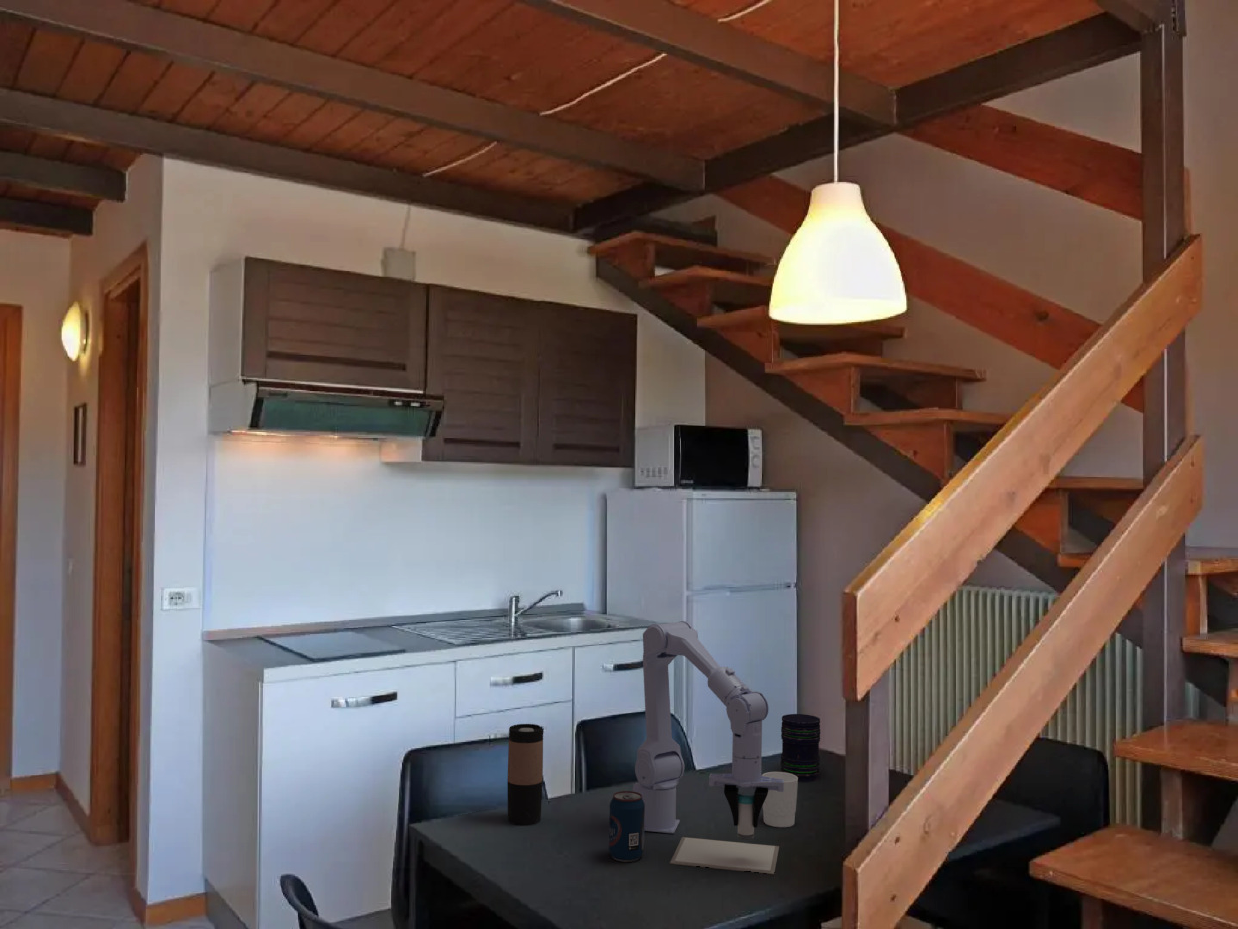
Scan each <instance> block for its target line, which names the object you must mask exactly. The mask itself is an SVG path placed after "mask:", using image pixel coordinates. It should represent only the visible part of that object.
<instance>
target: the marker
mask: <svg viewBox="0 0 1238 929" xmlns="http://www.w3.org/2000/svg"><path fill="white" fill-rule="evenodd" d="M753 821H754V793H750V792H741V793H740V792H739V793H738V825H737V838H739V839H741V840H752V839H754V838H755V827H753Z"/></svg>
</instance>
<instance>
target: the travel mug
mask: <svg viewBox="0 0 1238 929" xmlns="http://www.w3.org/2000/svg"><path fill="white" fill-rule="evenodd" d="M507 751H508V752H507V753H508V754H507V755H508V756H507V779H506V780H507V783H506V784H507V821H508V822H509V824H512V825H515V826H533V825H536V824H538V823H540V821H541V817H542V816H541V815H542V802H543V799H542V798H543V782H544V781H543V777H544V776H543V774H544V769H543V768H544V728H542V727H541V725H539V724H535V723H534V724H533V723H518V724H513V725H510V726H509V728H508V750H507Z"/></svg>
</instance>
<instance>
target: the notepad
mask: <svg viewBox="0 0 1238 929" xmlns="http://www.w3.org/2000/svg"><path fill="white" fill-rule="evenodd" d="M779 851H780V846H779V845H772V844H771V845H770V844H761V843H749V842H740V841H739V842H738V841H729V840H716V839H709V838H708V839H706V838H698V837H697V838H696V837H686V836H682V837H681V838H680V841H679V843H678V845H677V847H676V850H675V851H674V854H673V855H672V858H671V860H670V862H669V864H670V865H678V866H679V865H680V866H688V867H696V866H700V868H705V867H709V868H708V869H715V870H717V869H718V870H725V871H726V870H727V871H735V872H744V871H751V872H750V873H754V872H759V873H758V874H763V873H767V874H766V875H775V873H774V872H776V867H777V861H778V856H779Z"/></svg>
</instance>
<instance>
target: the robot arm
mask: <svg viewBox="0 0 1238 929" xmlns="http://www.w3.org/2000/svg"><path fill="white" fill-rule="evenodd" d="M642 647H643V648H642V649H643V655H642V668H643V669H642V670H643V672H642V673H643V690H644V691H643V693H644V710H645V712H644V713H645V733H646V734H645V735H646V738H645V741H644V742H643V743H642V744H641V745H640V746H639V748H638V749H637V751H636V755H637V756H636V757H637V758H636V762H635V764H634V772H635V773H634V774H635V776H636V779H637V781H638V782H635V783H633V787H632V791H633V792H637V793H640V794H641V795H642V799H643V801H644V804H645V822H644V832H655V833H656V832H657V833H664V834H675V832H676V830H677V828H678V826H679V824H680V821H681V820H680V819H676V818H677V817H676V815H677V814H676V812H677V811H676V810H677V808H676V807H677V785H678V784H680V781H679V780H680V779H681V778H682V777H683V775H684V773H685V762H684V759H683V756H682V753H681V752H682V751H681V745H680V744H678V743H677V741H675V740H674V739H673V738H672V737H673V736H672V734H673V733H672V716H671V715H672V714H671V699H670V697H671V696H670V678H669V676H670V674H669V666H670V664H671V663H672V662H673V660H675V659H676V658H677V656H684V657H685V658H686V659H687V660H688V661H689V662H690V663H691V664H693V666H694V667H695V668H697V669H698V670H699V671H700V672H701V673H702V674H703V675H704V676H705V677H706V678H707V687H708V688H709V689H710V691H712V693H713V695H715V696H716V697H717V698H718V699H719V701H720V702H721V703H722V704H723V705H724V706H725V707H726V708H725V709H726V715H727V717H728V719H729V722H730V729H731V732H732V752H731V753H732V756H731V773H710V774H709V776H708V786H709V787H715V786H719V787H724V788H723V794H724V796H725V798H726V801H727V803H728V805H729V808H730V812H731V816H732V820H733V827H735V826H736V827H738V794H739V793H740V792H739V790H740V789H739V788H742V789H755V790H754V792H753V795H754V821H753V827H754V829H755V828H758V826H759V817H760V813H761V811H762V809H763V803H764V801H765V799H766V797H767V794H768V790H777V791H778V792H784V779H776V778H770V777H765V776H762V753H763V751H762V745H763V743H762V742H763V740H762V739H763V721H765V719H766V718H767V717H768V714H769V704H768V700H767V698H766V697H765V696H764V694H763V693H762V692H761V691H758V690H753V689H751V688H749V686H747V685H746V684H745V683H744V682H743V681H742V680H741V679H740V678H739V676H737V674H735V673H736V672H735V670H734V669H733V668H731V667H730V668H729V667H728V666H720V664H719V663H718V661H716V660H715V658H714V657H713V655H711V653H710V652H709V651H708V649H707V648H706V647H705V646H704V644H702V642H701V640H699V636H698V631H697V630H696V629H695V628H693V626H692V625H691V623H689V622H688V621H685V620H681V621H677V622H667V623H652V624H650V625H649V626H648V627H647V628H646V629H645V631H643V633H642Z"/></svg>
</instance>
